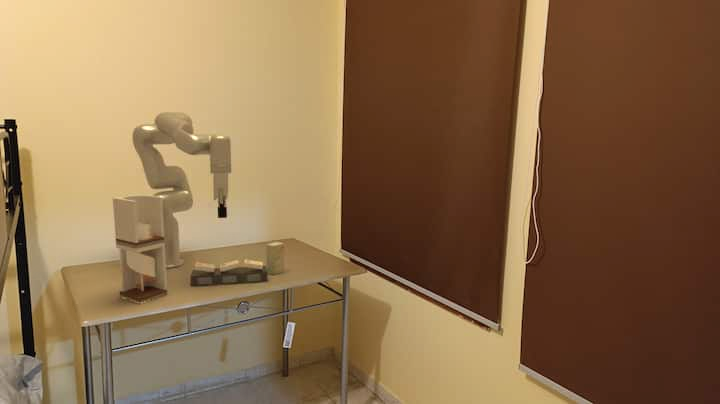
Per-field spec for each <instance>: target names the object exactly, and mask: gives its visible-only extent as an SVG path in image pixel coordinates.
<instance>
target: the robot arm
mask: <svg viewBox="0 0 720 404" xmlns="http://www.w3.org/2000/svg"><path fill="white" fill-rule="evenodd" d="M131 138H132V145H133V146H134V150H135V151H136V153H137V156H138V157H139V158H140V162H141V165H142V168H143V171H144V175H145V178H146V181H147V184H148V186H149V187H150V188H151V190H164V191H159V192H156V193H154V194H153V195H152V196H156V197H162V206H163V224H164V242H165V261H166V269H173V268H178V267H180V266H182V265H184V264H185V260H184V259H183V258H181V254H180V253H181V252H180V234H179V233H180V232H179V231H180V230H179V228H180V227H179V222H178V220H177V218H176V217H175V215H174V214H175V213H180V212H186V211H189V210H190V209H191V208H192V207H193V204H194V199H193V194H192V190H191V188H190V184H189V182H188V181H189V180H188V178H187V174H186V173H185V171H184V170H183V169H182V167H180V166H178V165H166V162H165V160H164V157H163V156H162V154H161V152H160V151H159V150H158V149H157V148H156V147H154V145H155V146H156V145H171V144H172V145H173V144H174V145H175V146H176V148H177V149H178V150H180V151H181V152H184V153H185V154H187V155H191V156H203V155H207V156H208V155H209V166H210V169H209V171H210V174H211V175H212V174H213V175H212V176H213V179H212V180H213V182H212V184H213V185H212V186H213V189H212V190H213V200H214V201H216V200H217V218H218V219H227V217H228V212H227V210H228V206H227V200H228V197H229V196H228V195H229V174H232V151H231V149H232V146H231V145H232V144H231V143H232V142H231V138H230V137H229V136H227V135H216V134H194V127H193V121H192V118H191V116H190V115H188V114H187V113H184V112H175V111H174V112H169V111H167V112H165V111H164V112H161V113H159V114H157V115H156V116H155V118H154V122H153V123H146V124H140V125H138V126H136V127H135V128H134V130H133V132H132V136H131ZM165 189H172V190H165Z"/></svg>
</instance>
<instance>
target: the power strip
mask: <svg viewBox="0 0 720 404" xmlns="http://www.w3.org/2000/svg"><path fill="white" fill-rule="evenodd" d="M266 282H268V273H267V265H263V268H262V269H256V268H249V267H244V266H239V267H237V268H233V269H230V270H226V271H222V272H221V271H220V267H218V268H216V267H215V269H214V272H209V271H201V270H195V269H192V270H191V274H190V287H193V288H194V287H205V286H206V287H207V286H219V285H236V284H250V283H254V284H255V283H266Z"/></svg>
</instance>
